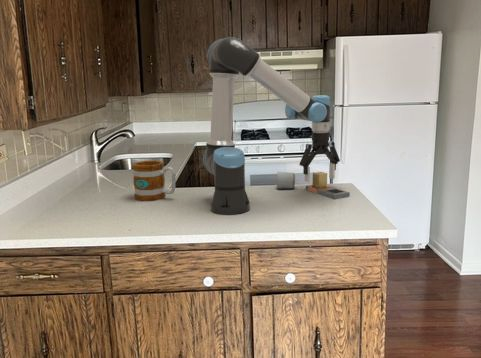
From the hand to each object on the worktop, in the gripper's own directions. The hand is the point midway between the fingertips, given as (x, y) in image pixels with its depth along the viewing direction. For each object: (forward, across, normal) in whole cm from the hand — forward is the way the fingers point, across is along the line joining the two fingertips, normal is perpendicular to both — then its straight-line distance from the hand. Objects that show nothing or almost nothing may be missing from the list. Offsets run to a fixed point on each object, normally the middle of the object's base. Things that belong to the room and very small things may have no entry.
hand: (319, 179), depth 205 cm
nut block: (+5, 0, 0) cm, 5 cm away
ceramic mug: (+5, -9, +13) cm, 17 cm away
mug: (+6, -66, +28) cm, 72 cm away
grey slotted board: (+5, 0, -5) cm, 7 cm away
